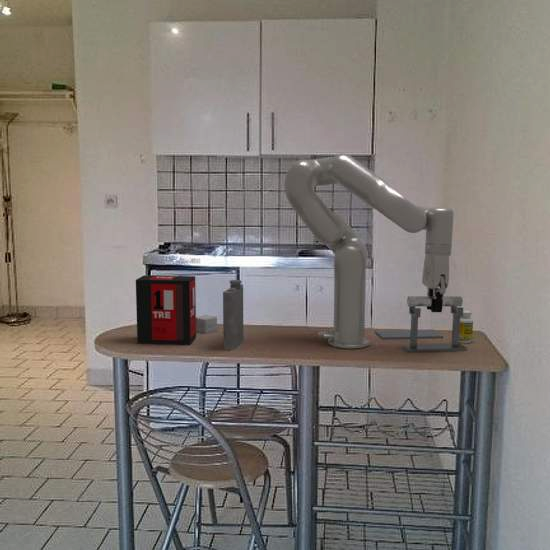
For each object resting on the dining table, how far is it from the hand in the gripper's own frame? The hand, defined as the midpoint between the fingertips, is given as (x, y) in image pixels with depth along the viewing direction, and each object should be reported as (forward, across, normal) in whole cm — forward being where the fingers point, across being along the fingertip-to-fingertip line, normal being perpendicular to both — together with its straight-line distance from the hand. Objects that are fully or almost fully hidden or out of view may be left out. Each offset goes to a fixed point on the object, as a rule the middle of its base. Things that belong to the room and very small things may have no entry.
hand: (434, 310), depth 192 cm
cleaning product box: (+14, -17, -80) cm, 83 cm away
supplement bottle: (+12, -8, +13) cm, 19 cm away
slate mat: (+12, -17, -2) cm, 21 cm away
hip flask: (+13, -11, -59) cm, 61 cm away
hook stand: (+12, 0, +1) cm, 12 cm away
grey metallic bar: (-3, 0, 0) cm, 3 cm away
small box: (+14, -29, -68) cm, 75 cm away
